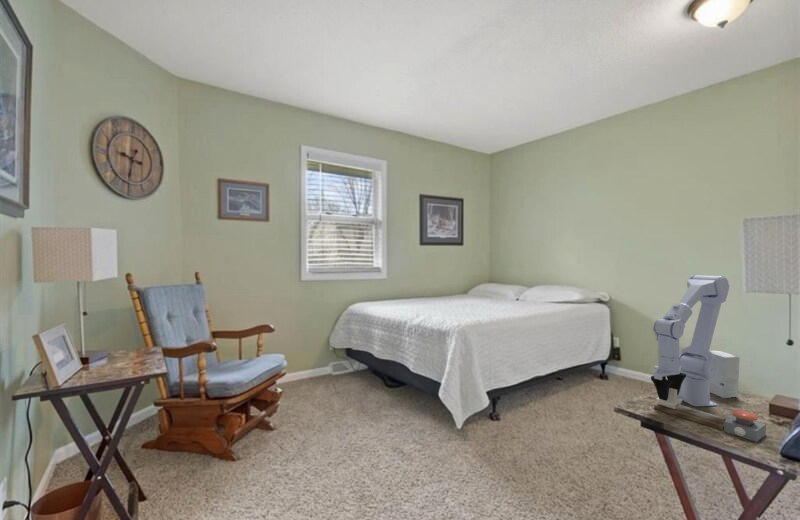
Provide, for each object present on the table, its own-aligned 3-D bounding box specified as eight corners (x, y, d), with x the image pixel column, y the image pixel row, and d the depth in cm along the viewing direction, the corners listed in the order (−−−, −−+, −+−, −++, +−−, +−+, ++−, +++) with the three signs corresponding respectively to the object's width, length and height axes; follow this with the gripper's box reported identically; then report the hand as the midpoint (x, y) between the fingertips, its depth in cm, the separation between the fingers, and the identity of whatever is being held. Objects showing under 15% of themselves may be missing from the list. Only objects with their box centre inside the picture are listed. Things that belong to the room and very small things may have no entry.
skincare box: (702, 390, 137) (702, 350, 137) (717, 389, 138) (717, 349, 137) (724, 399, 129) (724, 356, 128) (740, 397, 129) (740, 355, 129)
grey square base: (723, 431, 106) (723, 421, 106) (733, 425, 110) (733, 415, 110) (756, 442, 100) (756, 431, 100) (765, 434, 104) (765, 424, 104)
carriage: (655, 404, 122) (655, 388, 122) (664, 400, 125) (664, 384, 125) (673, 410, 118) (673, 392, 118) (681, 405, 121) (681, 388, 121)
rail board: (654, 408, 123) (654, 401, 122) (663, 404, 126) (663, 397, 126) (722, 430, 107) (722, 422, 107) (731, 424, 110) (730, 417, 110)
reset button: (729, 424, 106) (729, 413, 106) (736, 419, 109) (736, 408, 109) (753, 431, 102) (753, 419, 101) (760, 426, 104) (760, 415, 104)
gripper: (665, 349, 128) (665, 388, 129) (643, 356, 121) (644, 397, 121) (689, 354, 122) (689, 395, 122) (668, 362, 115) (668, 405, 115)
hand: (668, 396), depth 121 cm, fingers open, 7 cm apart
